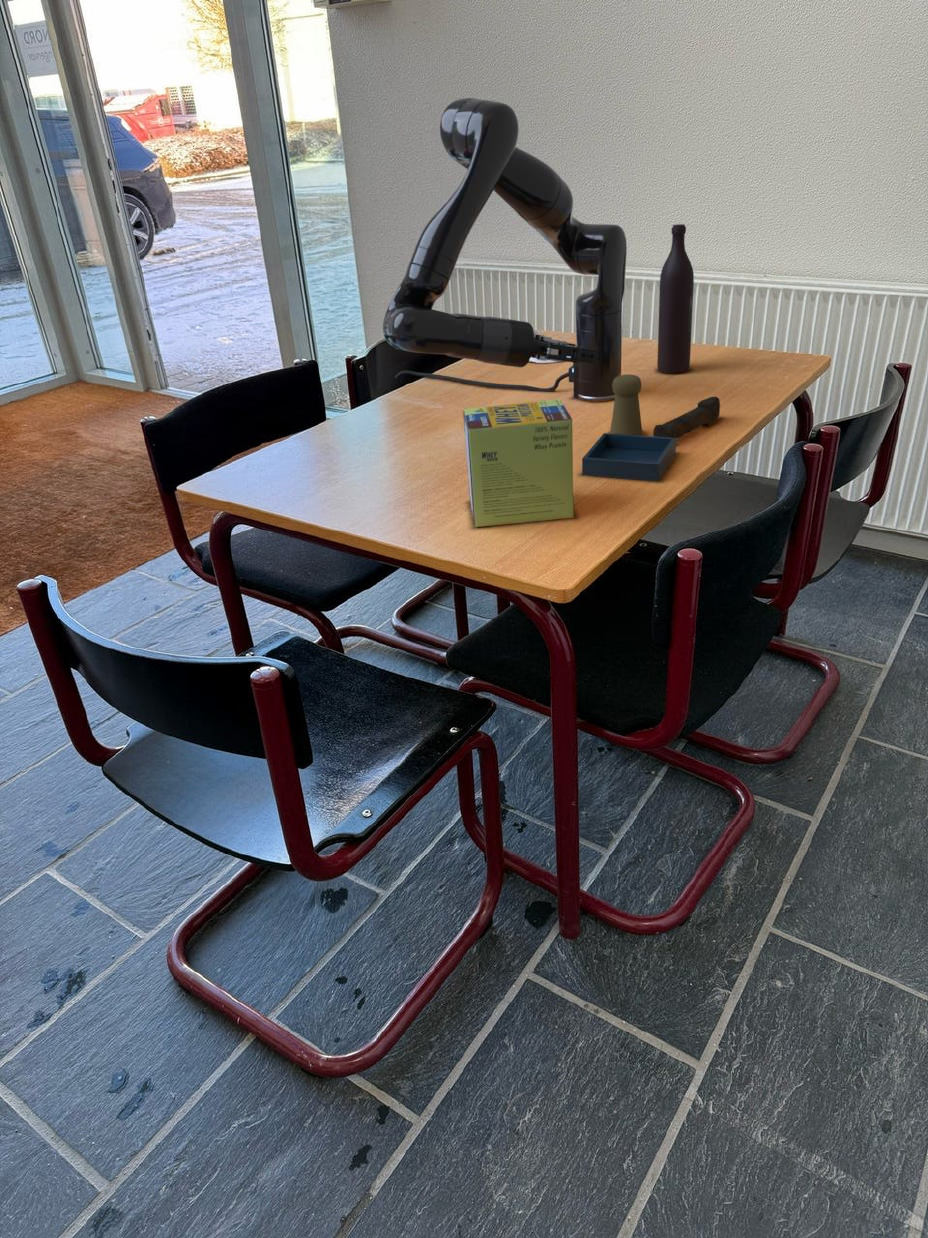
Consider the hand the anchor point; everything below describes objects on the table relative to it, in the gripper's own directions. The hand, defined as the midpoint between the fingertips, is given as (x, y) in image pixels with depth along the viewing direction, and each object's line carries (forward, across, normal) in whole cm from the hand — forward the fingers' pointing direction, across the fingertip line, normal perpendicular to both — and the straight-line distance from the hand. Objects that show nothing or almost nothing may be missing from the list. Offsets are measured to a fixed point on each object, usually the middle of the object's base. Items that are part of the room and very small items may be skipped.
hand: (585, 353), depth 159 cm
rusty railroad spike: (+22, -4, +11) cm, 25 cm away
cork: (+12, 0, +14) cm, 18 cm away
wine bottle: (+39, +33, +3) cm, 51 cm away
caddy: (+6, -13, +16) cm, 22 cm away
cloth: (+19, +64, +6) cm, 67 cm away
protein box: (-17, -22, +23) cm, 36 cm away
